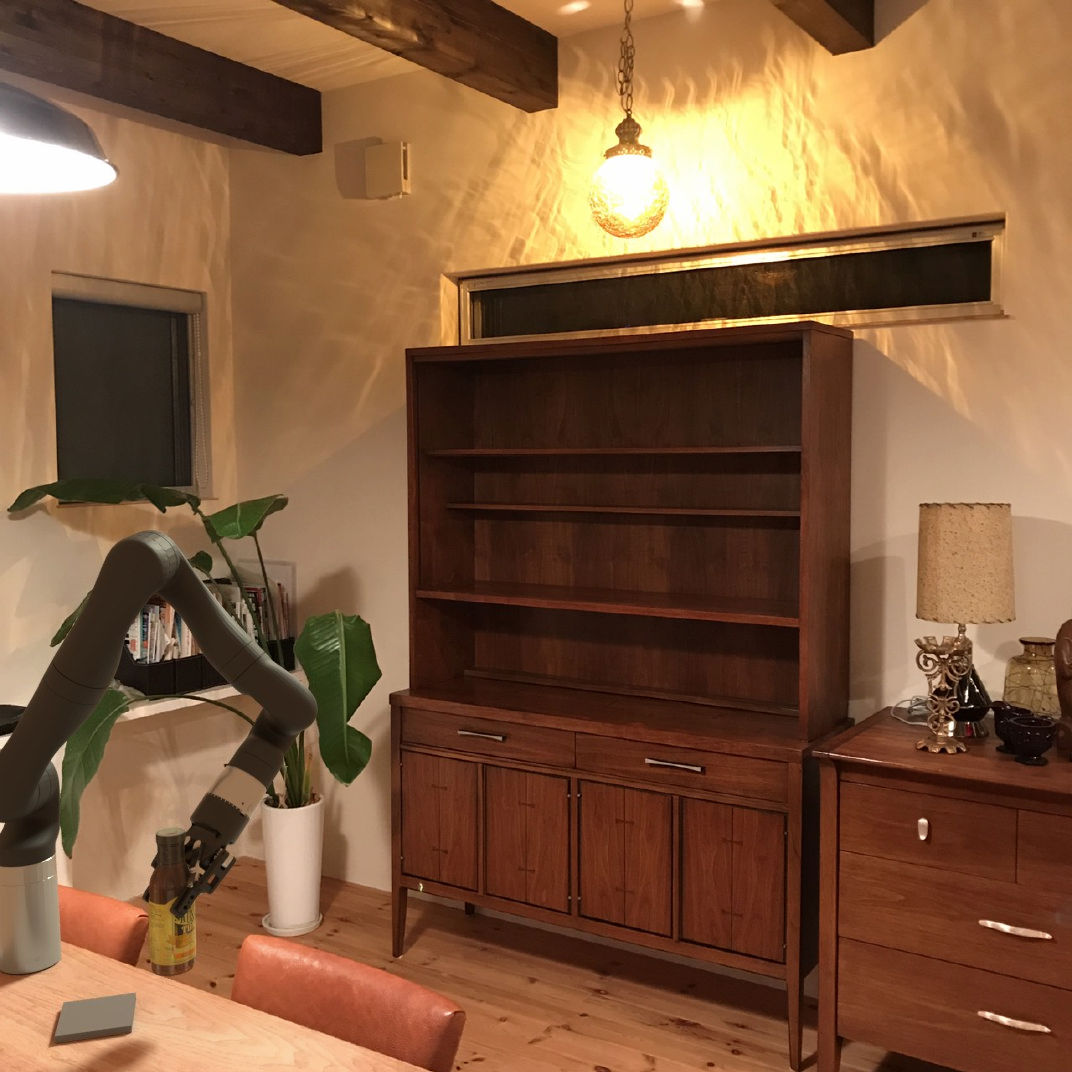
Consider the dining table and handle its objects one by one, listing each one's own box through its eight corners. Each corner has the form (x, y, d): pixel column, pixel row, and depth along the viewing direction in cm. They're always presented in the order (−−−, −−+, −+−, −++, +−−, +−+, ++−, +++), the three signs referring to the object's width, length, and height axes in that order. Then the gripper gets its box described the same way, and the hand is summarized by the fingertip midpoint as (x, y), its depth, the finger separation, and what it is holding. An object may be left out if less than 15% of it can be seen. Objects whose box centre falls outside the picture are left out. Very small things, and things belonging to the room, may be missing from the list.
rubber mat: (63, 1008, 169) (63, 1002, 169) (136, 998, 172) (135, 992, 172) (55, 1043, 160) (54, 1036, 160) (131, 1032, 163) (131, 1025, 162)
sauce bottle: (183, 981, 161) (178, 842, 159) (141, 977, 162) (136, 839, 160) (205, 959, 167) (201, 825, 165) (165, 955, 168) (160, 823, 166)
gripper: (184, 782, 173) (114, 883, 165) (243, 801, 164) (173, 910, 156) (215, 807, 177) (149, 907, 169) (275, 828, 168) (208, 934, 160)
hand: (161, 908), depth 162 cm, fingers closed on sauce bottle, 6 cm apart
